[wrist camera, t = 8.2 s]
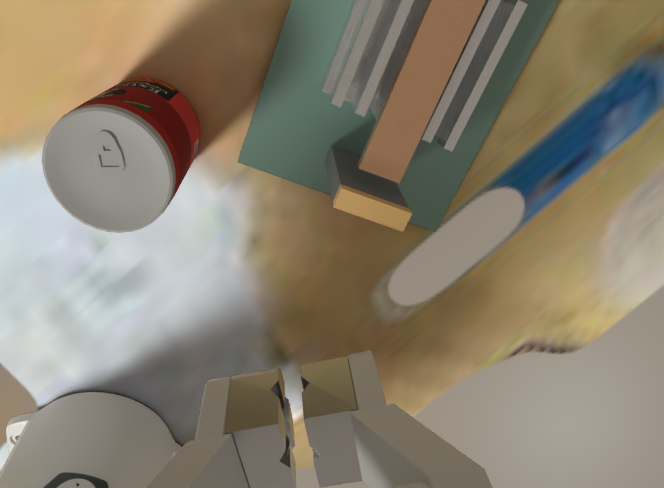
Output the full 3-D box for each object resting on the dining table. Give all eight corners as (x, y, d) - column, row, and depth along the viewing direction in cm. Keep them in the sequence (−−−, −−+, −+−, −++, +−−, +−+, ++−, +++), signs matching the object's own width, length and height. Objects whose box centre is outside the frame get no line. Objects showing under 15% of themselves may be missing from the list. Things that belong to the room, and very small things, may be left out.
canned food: (179, 62, 38) (140, 90, 29) (217, 161, 42) (194, 216, 32) (83, 91, 39) (12, 127, 29) (129, 186, 42) (80, 247, 33)
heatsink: (436, 131, 41) (457, 153, 36) (320, 85, 39) (324, 101, 33) (499, 3, 37) (533, 7, 32) (373, -57, 35) (388, -64, 29)
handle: (395, 176, 36) (399, 183, 35) (355, 161, 35) (358, 168, 34) (515, -84, 30) (527, -89, 28) (471, -108, 29) (480, -114, 28)
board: (432, 227, 46) (469, 291, 36) (238, 158, 42) (222, 210, 32) (584, -60, 37) (688, -76, 27) (352, -185, 32) (378, -256, 23)
